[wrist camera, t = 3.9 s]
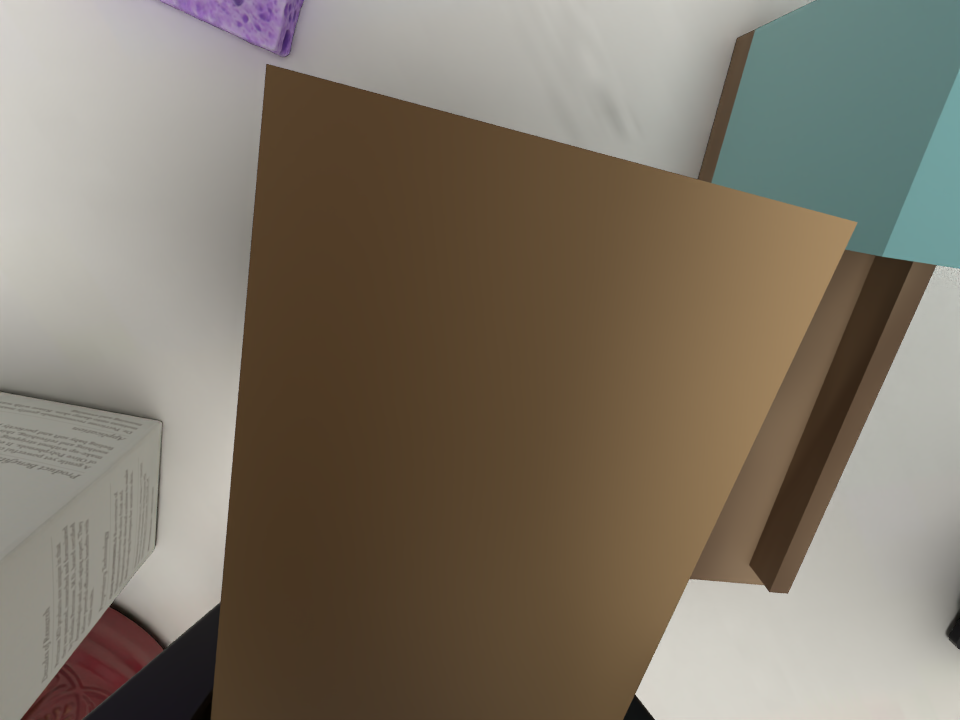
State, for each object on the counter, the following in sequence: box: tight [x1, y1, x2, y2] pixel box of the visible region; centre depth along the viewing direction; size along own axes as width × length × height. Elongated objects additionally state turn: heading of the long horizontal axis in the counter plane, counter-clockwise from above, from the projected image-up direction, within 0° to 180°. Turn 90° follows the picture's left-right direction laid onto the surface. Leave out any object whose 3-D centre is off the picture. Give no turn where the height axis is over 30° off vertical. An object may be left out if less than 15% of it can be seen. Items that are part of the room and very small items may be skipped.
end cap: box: [711, 0, 960, 269], centre depth 13 cm, size 8×6×8 cm
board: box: [690, 30, 936, 594], centre depth 18 cm, size 8×20×2 cm, turn 171°
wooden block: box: [211, 64, 858, 720], centre depth 8 cm, size 4×14×5 cm, turn 166°
